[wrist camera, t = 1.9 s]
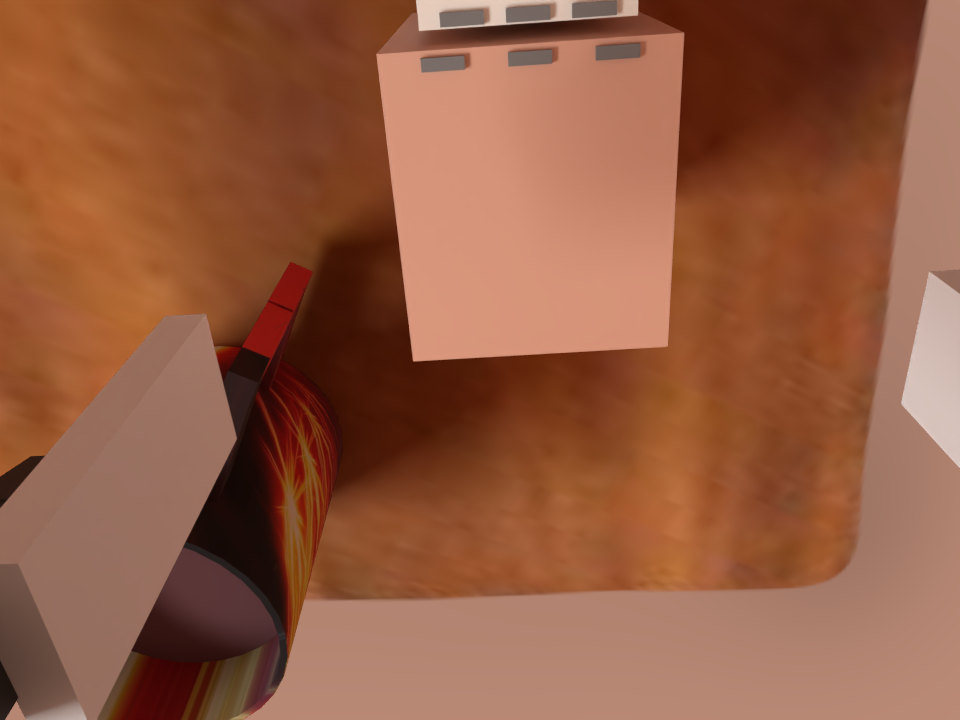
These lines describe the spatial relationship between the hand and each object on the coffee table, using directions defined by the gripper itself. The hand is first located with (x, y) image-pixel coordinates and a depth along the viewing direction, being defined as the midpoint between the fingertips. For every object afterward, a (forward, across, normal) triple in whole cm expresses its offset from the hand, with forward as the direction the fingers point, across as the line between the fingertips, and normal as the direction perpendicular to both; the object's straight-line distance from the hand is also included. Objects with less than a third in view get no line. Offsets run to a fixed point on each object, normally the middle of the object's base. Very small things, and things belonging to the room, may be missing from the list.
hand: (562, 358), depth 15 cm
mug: (+18, -14, -10) cm, 25 cm away
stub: (+17, 0, +1) cm, 17 cm away
